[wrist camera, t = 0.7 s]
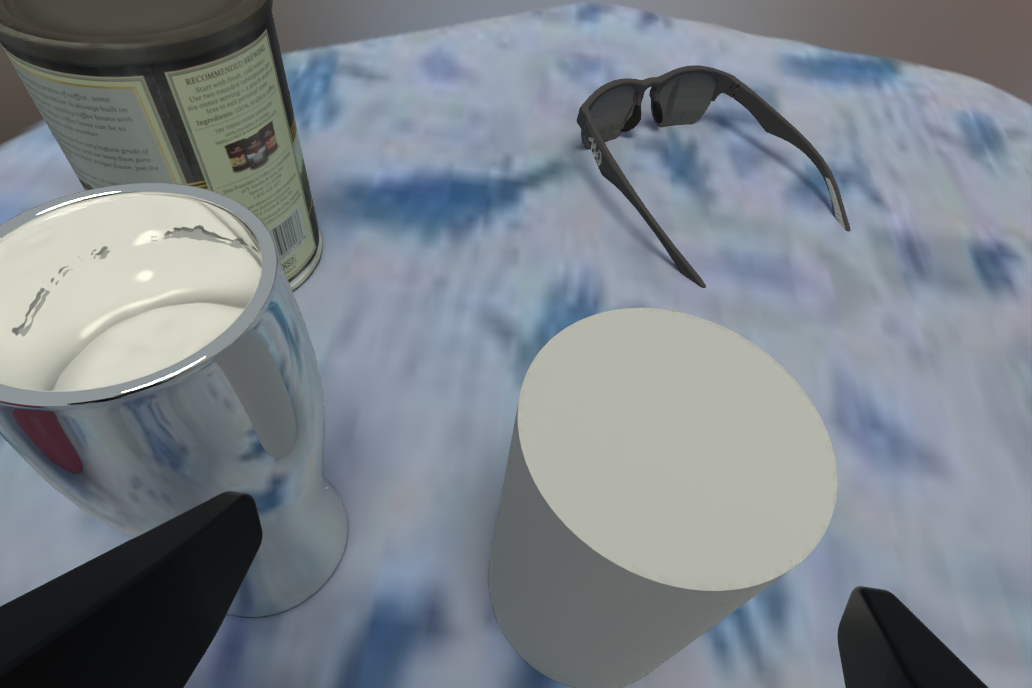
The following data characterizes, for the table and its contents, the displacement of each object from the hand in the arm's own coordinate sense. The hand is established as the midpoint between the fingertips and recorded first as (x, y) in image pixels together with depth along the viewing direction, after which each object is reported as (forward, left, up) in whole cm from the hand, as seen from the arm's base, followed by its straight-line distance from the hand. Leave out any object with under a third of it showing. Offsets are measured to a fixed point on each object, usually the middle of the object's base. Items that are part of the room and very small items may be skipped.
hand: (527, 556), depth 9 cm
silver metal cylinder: (+5, +9, -16) cm, 19 cm away
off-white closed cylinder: (+5, -4, -16) cm, 17 cm away
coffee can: (+21, +17, -16) cm, 32 cm away
